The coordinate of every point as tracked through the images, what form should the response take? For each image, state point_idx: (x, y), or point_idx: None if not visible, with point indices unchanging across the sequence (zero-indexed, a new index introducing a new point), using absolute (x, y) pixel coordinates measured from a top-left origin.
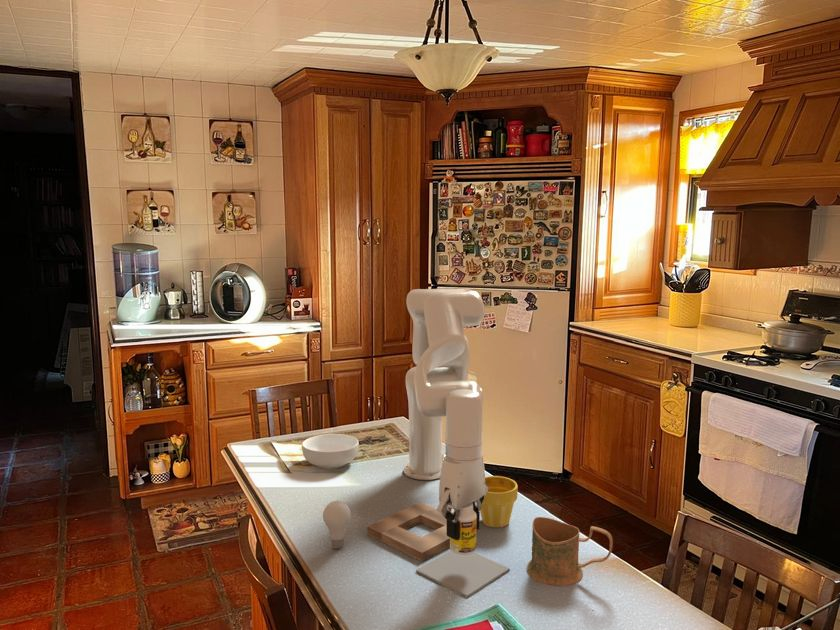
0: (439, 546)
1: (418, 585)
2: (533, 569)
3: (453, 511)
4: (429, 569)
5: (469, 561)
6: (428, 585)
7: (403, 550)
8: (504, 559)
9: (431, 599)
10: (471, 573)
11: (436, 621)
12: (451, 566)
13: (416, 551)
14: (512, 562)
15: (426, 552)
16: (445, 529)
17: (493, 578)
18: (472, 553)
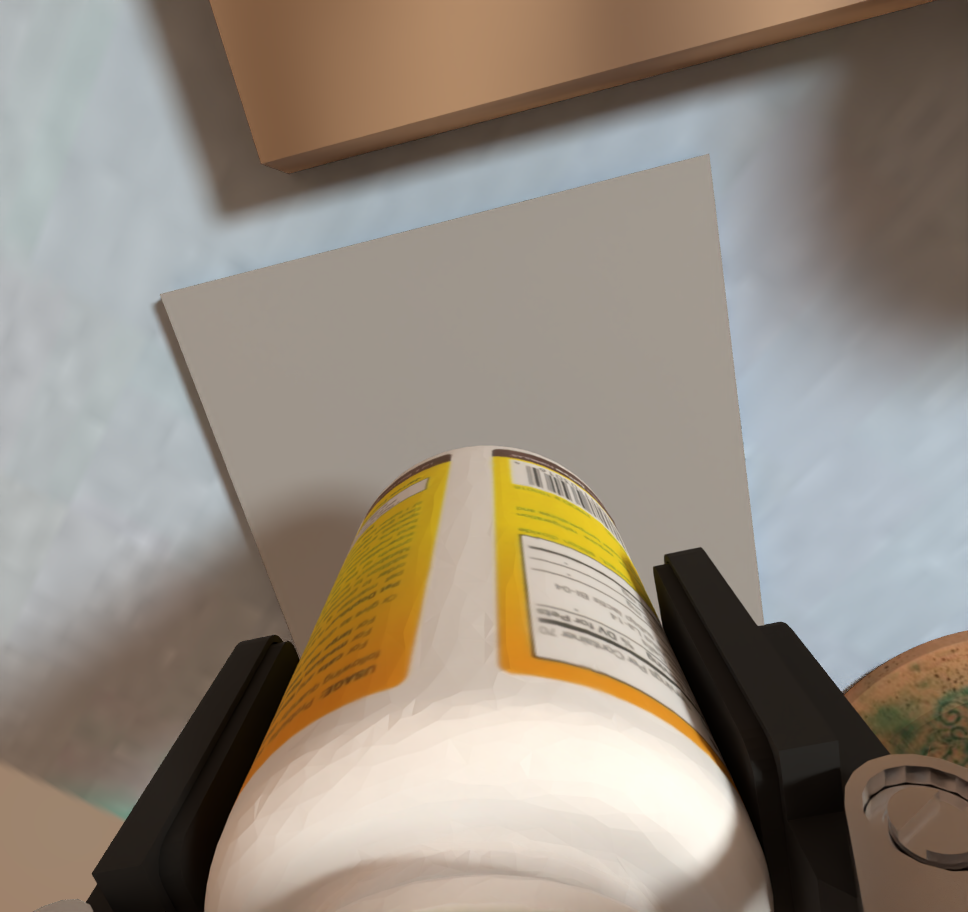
0: (508, 102)
1: (113, 457)
2: None
3: (312, 866)
4: (259, 352)
5: (601, 425)
6: (178, 494)
7: None
8: (851, 512)
9: (128, 626)
10: None
11: (69, 787)
12: (437, 409)
13: (238, 77)
14: (861, 571)
15: (322, 152)
16: None
17: None
18: (707, 339)
